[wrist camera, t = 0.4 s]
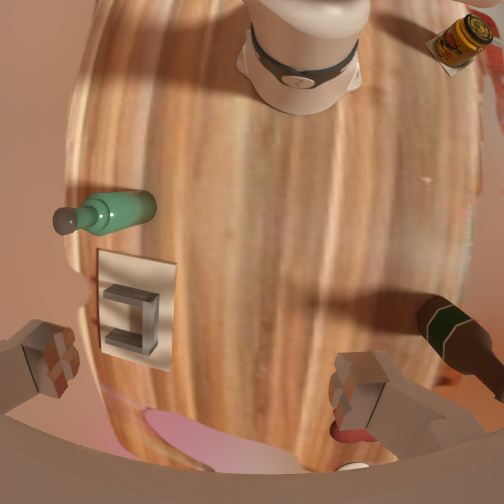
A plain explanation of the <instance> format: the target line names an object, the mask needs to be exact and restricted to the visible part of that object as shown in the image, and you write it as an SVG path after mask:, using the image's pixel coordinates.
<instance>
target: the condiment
mask: <svg viewBox="0 0 504 504" xmlns="http://www.w3.org/2000/svg"><path fill="white" fill-rule="evenodd" d="M492 40H493V35H492V32H491V29H490V27H489V26H488V24H487V23H486V22H485V21H484V20H483V19H482V18H480V17H479V16H477V15H474V14H468V15H466V17H464V18H463V19H458V20H457V21H456V22H455V23H454V24H453V25H452V26H451V27H449V28H448V29H447V30H446V31H444V32H443V33H441V34H439V35H437V36H436V37H434V38H432V39H431V40H429V41H427V42H426V43H424V44H425V45H426V46H427V48H428V49H429V50H430V51H431V53H432V54H433V55H434V56H435V58H436V59H437V60H438V61H439V62H440V64H441V65H442V66H443V67H444V69H445V70H446V71H447V72H448V74H449V75H450V76H451V77H452V76H453V75H455V74H456V73H457V72H459V71H460V70H462V69H463V68H464V67H466V66H467V65H469V64H470V63H471V62H473V61H474V59H473V57H474V56H475V55H477V54H479V53H480V52H482V51H483V50H484V49H485V48H486V46H487V45H488V44H490V43H491V42H492Z"/></svg>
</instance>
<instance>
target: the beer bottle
mask: <svg viewBox="0 0 504 504" xmlns="http://www.w3.org/2000/svg"><path fill="white" fill-rule="evenodd" d="M418 330H419V332H420V333H421V334H422V336H423V337H424V338H425V339H426V340H427V341H428V343H429V344H430V345H431V346H432V347H433V348H434V350H435V351H436V352H437V353H438V354H439V356H440V357H441V358H442V359H443V360H444V361H445V362H446V363H447V364H448V365H449V366H450V367H452V368H453V369H455V370H456V371H458V372H460V373H462V374H465V375H473V374H474V375H476V377H478V378H479V380H481V381H482V382H483V383H484V384H485V385H486V386H487V387H488V388H489V389H490V390H491V391H492V392H493V393H494V394H495V399H497V400H499V401H500V402H502V403H504V365H503V364H502V363H501V362H500V361H499V360H498V359H497V357H496V356H495V355H494V353H493V351H492V341H491V338H490V336H489V333H488V332H487V331H486V330H485V329H484V328H483V327H481V326H480V325H479V324H478V323H477V322H475V321H474V320H473V319H472V318H470V317H469V316H468V315H466V314H465V313H464V312H463V311H461V310H460V309H459V308H457V307H456V306H455V305H454V304H452V303H451V302H450V301H448V300H447V299H445V298H444V297H442V296H441V297H438V298H435V299H431V300H428V301H427V302H426V303H425V305H424V306H423V308H422V309H421V310H420V312H419V313H418Z"/></svg>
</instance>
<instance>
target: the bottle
mask: <svg viewBox="0 0 504 504" xmlns="http://www.w3.org/2000/svg"><path fill="white" fill-rule="evenodd" d="M156 209H157V205H156V201H155V198H154V197H153V195H152V194H151V193H149V192H147V191H144V190H139V191H120V192H105V193H94V194H92V195H90V196H89V197H88V198H87V199H86V200H85V201H84V202H83V203H82V204H81V206H80V207H77V208H70V207H64V208H59V209H58V210H56V211H55V213H54V216H53V226H54V228H55V231H56V232H57V233H58V234H60V235H67V234H71V233H73V232H74V231H75V230H79V229H84V230H85V231H87V232H89V233H91V234H92V235H95V236H103V235H106V234H109V233H112V232H116V231H119V230H122V229H126V228H129V227H133V226H136V225H139V224H143V223H146V222H149V221H150V220H151V219H152V218H153V217H154V215H155V213H156Z"/></svg>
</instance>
